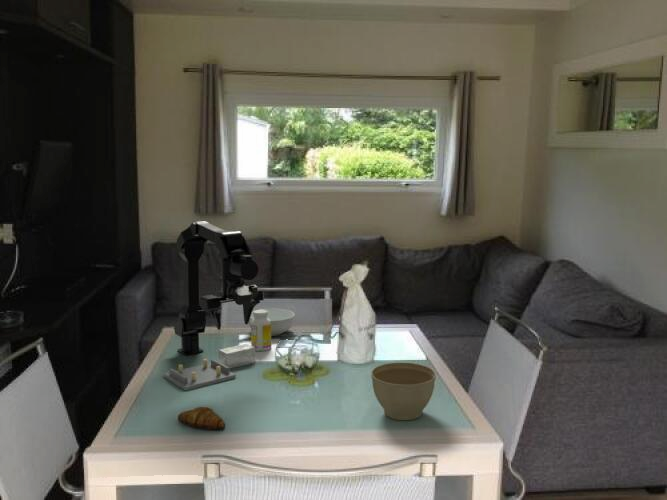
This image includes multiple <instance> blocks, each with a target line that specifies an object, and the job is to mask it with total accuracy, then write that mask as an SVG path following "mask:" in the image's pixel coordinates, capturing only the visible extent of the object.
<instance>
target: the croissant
mask: <svg viewBox="0 0 667 500" xmlns="http://www.w3.org/2000/svg"><path fill="white" fill-rule="evenodd" d="M177 420H178V422H180V423H181V424H184V426H185V425H186V426H189V427H192V428H195V429H201V430H209V431H222V430H225V428H226V422H225V421H224V420H223V419H222V418H221V417H220V416H219V415H218V414H217V413H216V412H215V411H214V409H212V408H211V407H208V406H198V407H195V408H193V409H189V410H185V411H182V412H180V413H179V414H178V415H177Z"/></svg>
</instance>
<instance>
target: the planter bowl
mask: <svg viewBox="0 0 667 500" xmlns="http://www.w3.org/2000/svg"><path fill="white" fill-rule="evenodd" d="M370 373H371V379H372V380H371V382H372V389H373V393H374V395H375V397H376V400H377V401H378V403H379V405H380V406H381V407H382V409H383V412H384V414H385V416H387V417H388V418H390V419H393V420H395V421H396V420H398V421H413V420H416V419H418V418H420V417H421V416H422V415H423V410H424V409H425V408H426V407H427V405H428V404H429V403H430V400H431V399H432V395H433V393H434V390H435V382H436V378H437V375H436V374H437V373H436V372H435V370H434V369H432V368H431V367H428V366H427V365H423V364H420V363H414V362H407V361H405V362H398V361H397V362H389V363H388V362H387V363H383V364H380V365H377V366H375V367H374V368H373V369H372V370H371V371H370Z"/></svg>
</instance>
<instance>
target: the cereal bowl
mask: <svg viewBox="0 0 667 500" xmlns="http://www.w3.org/2000/svg"><path fill="white" fill-rule="evenodd" d="M256 310H257V309H256ZM256 310H253V311H252V313H251V316H250V319H249V322H248V325H249V327H250V328H251V320H252V319H253V318H254V315H253V314H254V313H253V312H254V311H256ZM259 310H266V311H268V315H267V318H269V319H270V321H271V337H273V336H274V337H275V336H278V335H281V334H282V333H284V332H287V331H289V330H290V329H291V328H292V327H293V326H294V322H295V316H296V314H295V313H294V312H293V311H291V310H290V309H289V310H288V309H283V308H262V309H259Z"/></svg>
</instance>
